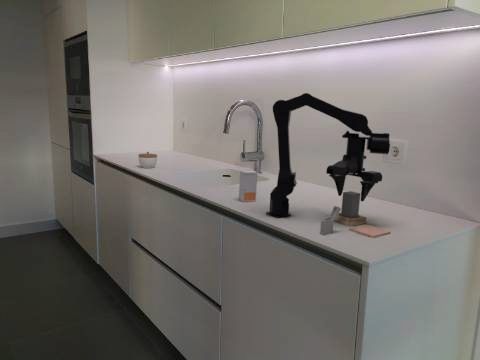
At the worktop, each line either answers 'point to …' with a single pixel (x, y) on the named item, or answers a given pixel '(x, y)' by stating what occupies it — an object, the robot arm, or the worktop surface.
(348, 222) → the wooden square frame
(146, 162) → the lidded jar
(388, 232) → the tile
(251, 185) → the skincare box
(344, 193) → the dark grey block
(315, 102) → the robot arm
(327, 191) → the worktop surface
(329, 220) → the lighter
